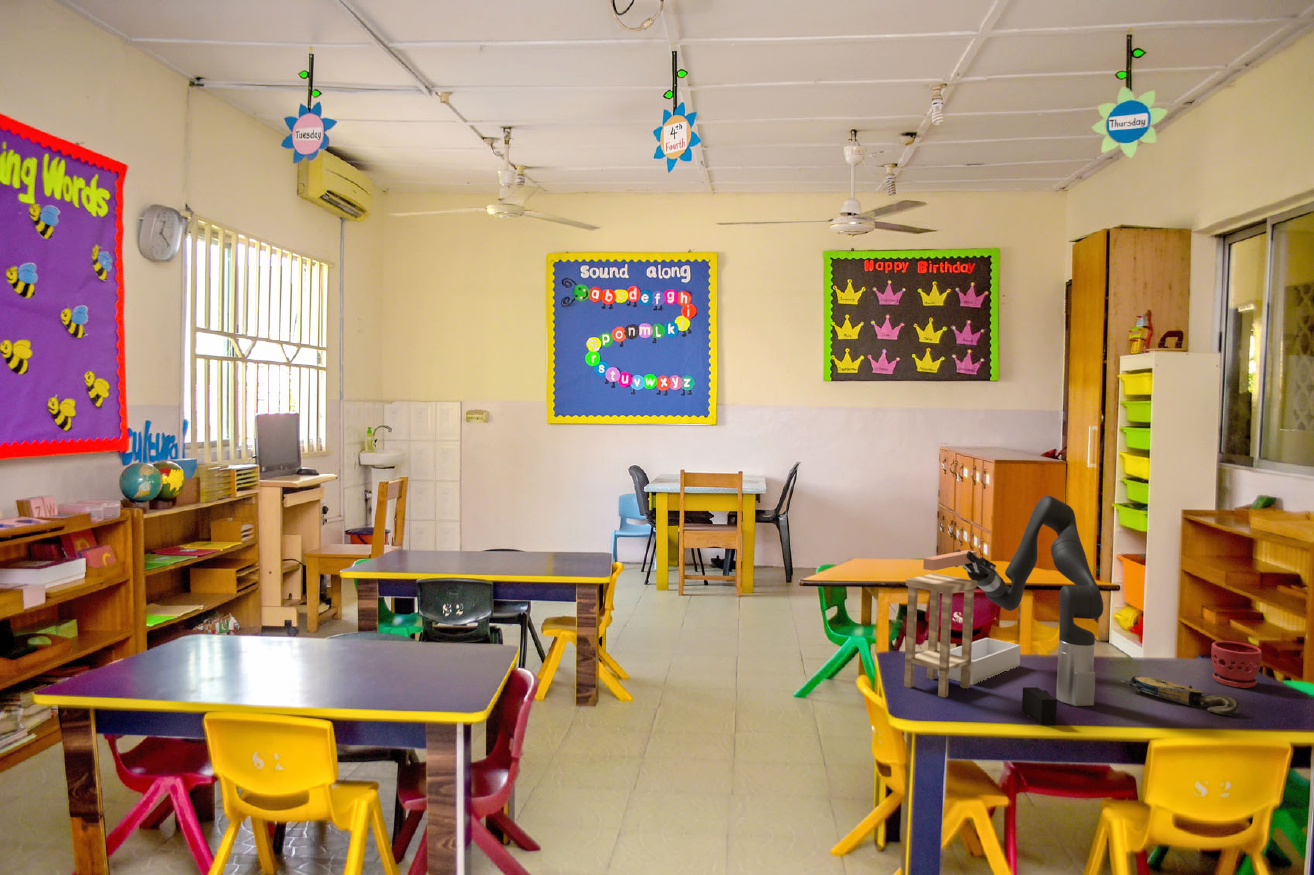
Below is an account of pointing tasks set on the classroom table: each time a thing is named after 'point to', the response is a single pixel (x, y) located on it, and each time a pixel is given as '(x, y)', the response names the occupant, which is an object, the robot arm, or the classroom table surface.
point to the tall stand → (943, 657)
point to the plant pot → (1235, 663)
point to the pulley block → (1184, 694)
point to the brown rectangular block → (947, 560)
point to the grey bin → (988, 659)
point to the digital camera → (1039, 705)
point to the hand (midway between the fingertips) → (962, 553)
